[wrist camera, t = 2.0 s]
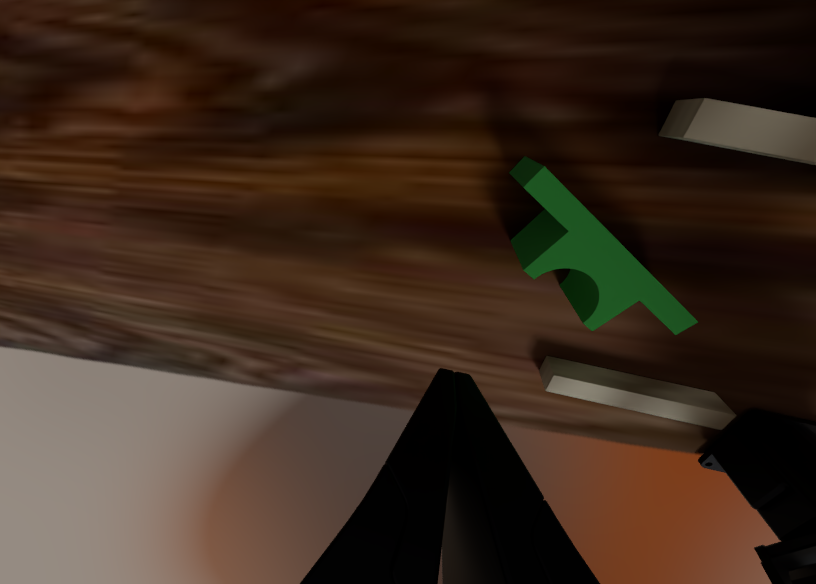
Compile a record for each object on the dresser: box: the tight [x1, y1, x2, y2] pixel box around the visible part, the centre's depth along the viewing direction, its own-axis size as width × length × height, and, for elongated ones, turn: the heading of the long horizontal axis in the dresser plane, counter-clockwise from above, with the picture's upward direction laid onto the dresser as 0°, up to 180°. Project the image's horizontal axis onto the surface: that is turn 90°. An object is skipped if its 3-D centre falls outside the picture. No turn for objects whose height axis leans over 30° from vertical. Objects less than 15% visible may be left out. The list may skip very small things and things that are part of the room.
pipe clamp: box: [509, 156, 698, 335], centre depth 17 cm, size 11×4×5 cm, turn 51°
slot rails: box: [539, 98, 816, 430], centre depth 18 cm, size 12×18×2 cm
